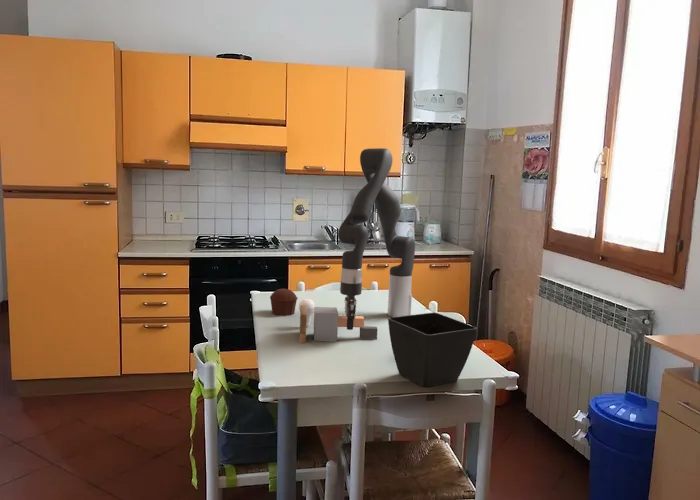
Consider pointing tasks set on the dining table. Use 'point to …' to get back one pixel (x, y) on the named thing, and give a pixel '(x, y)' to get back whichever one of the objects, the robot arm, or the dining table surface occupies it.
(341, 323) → the dowel
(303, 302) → the lightbulb
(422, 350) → the flower pot
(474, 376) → the dining table surface
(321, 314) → the block
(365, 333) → the block
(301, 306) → the wooden board
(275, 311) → the muffin
